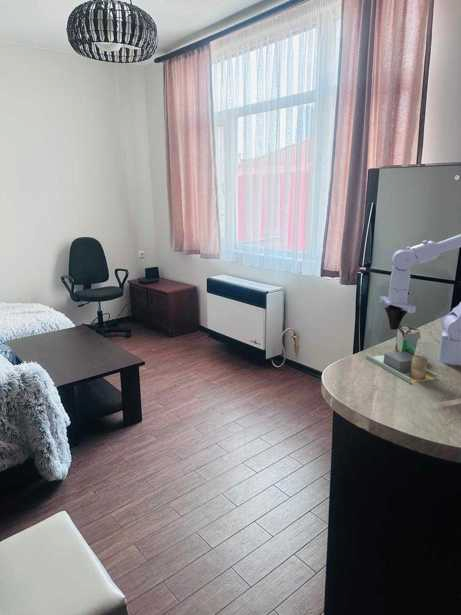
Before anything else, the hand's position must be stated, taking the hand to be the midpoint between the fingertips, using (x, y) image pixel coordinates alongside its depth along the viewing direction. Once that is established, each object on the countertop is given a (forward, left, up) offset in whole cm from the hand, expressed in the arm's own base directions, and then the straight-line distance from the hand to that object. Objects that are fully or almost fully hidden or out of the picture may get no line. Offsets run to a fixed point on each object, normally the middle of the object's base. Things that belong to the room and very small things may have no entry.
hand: (393, 328), depth 139 cm
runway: (+5, +10, -10) cm, 15 cm away
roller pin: (+5, +18, -9) cm, 20 cm away
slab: (+5, +11, -9) cm, 15 cm away
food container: (-5, +2, -10) cm, 11 cm away
